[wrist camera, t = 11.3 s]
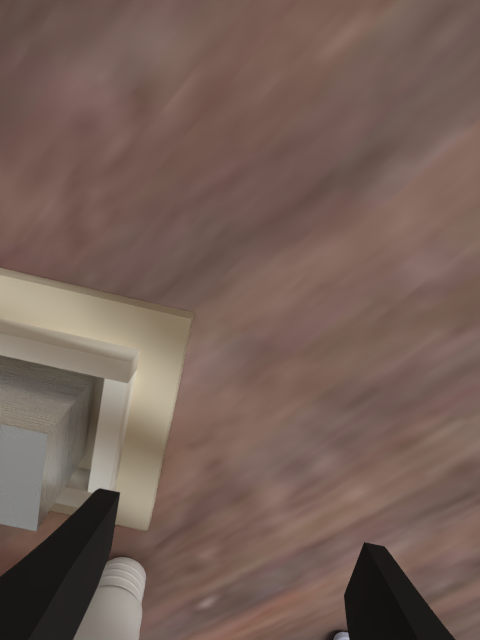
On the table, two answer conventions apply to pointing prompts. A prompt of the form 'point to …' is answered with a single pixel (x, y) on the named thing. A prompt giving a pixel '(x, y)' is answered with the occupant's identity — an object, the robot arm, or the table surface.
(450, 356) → the table surface
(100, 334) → the beige square tray
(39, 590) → the robot arm
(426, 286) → the table surface
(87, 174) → the table surface
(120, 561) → the lightbulb
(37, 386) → the block
